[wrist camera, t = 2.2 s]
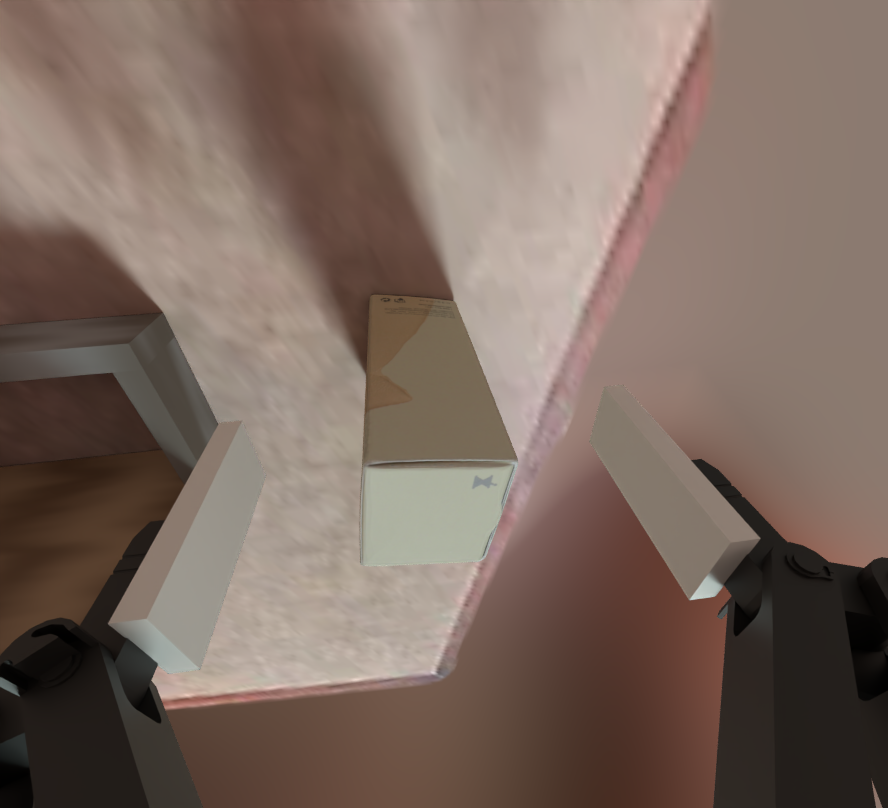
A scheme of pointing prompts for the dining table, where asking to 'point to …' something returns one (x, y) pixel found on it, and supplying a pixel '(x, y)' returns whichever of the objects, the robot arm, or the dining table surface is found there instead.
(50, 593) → the cleat board
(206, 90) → the dining table surface
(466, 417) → the box
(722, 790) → the robot arm
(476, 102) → the dining table surface
